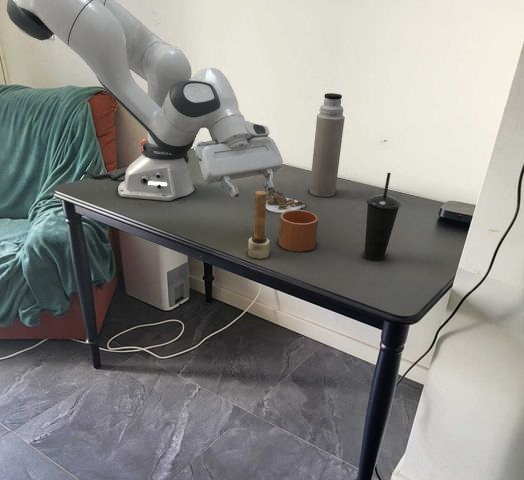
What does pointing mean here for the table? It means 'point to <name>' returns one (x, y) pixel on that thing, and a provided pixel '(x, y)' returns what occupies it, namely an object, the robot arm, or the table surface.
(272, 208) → the frog figurine
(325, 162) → the thermos bottle
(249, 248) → the brush
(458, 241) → the table surface
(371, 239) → the drinking cup
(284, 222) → the tumbler
